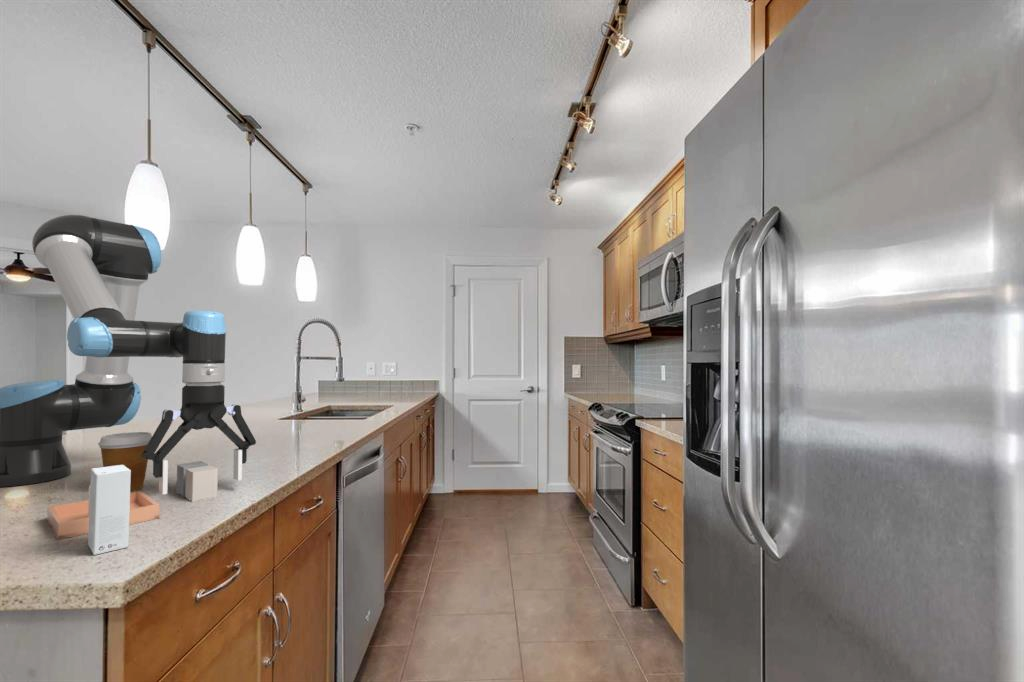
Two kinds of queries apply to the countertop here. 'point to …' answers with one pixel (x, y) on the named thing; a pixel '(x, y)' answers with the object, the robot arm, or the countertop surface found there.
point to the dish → (76, 521)
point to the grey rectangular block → (182, 475)
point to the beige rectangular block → (201, 482)
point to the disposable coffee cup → (127, 454)
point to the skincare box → (109, 509)
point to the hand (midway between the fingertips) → (202, 486)
